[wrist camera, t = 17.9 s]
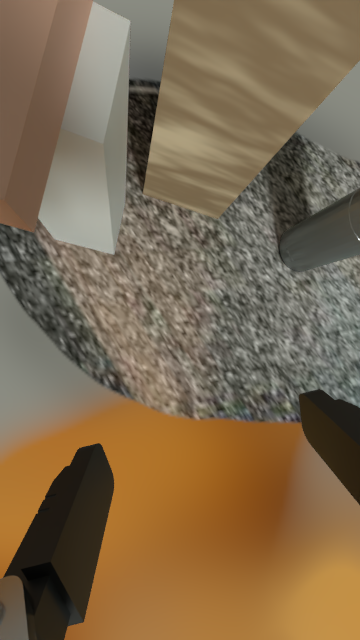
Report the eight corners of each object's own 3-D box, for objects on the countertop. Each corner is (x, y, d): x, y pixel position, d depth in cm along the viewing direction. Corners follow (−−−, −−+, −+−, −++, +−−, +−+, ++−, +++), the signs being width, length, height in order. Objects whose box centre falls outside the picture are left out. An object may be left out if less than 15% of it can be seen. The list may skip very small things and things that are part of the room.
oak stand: (217, 218, 42) (498, -96, 11) (142, 193, 38) (235, -379, 7) (229, 149, 43) (518, -323, 12) (158, 118, 39) (296, -664, 8)
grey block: (114, 254, 37) (103, 144, 14) (54, 239, 34) (-68, 80, 12) (125, 202, 37) (130, 20, 15) (67, 184, 35) (-27, -61, 13)
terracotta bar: (34, 232, 13) (4, 200, 10) (-36, 213, 12) (-95, 170, 9) (113, -80, 15) (111, -199, 12) (56, -115, 14) (36, -255, 11)
